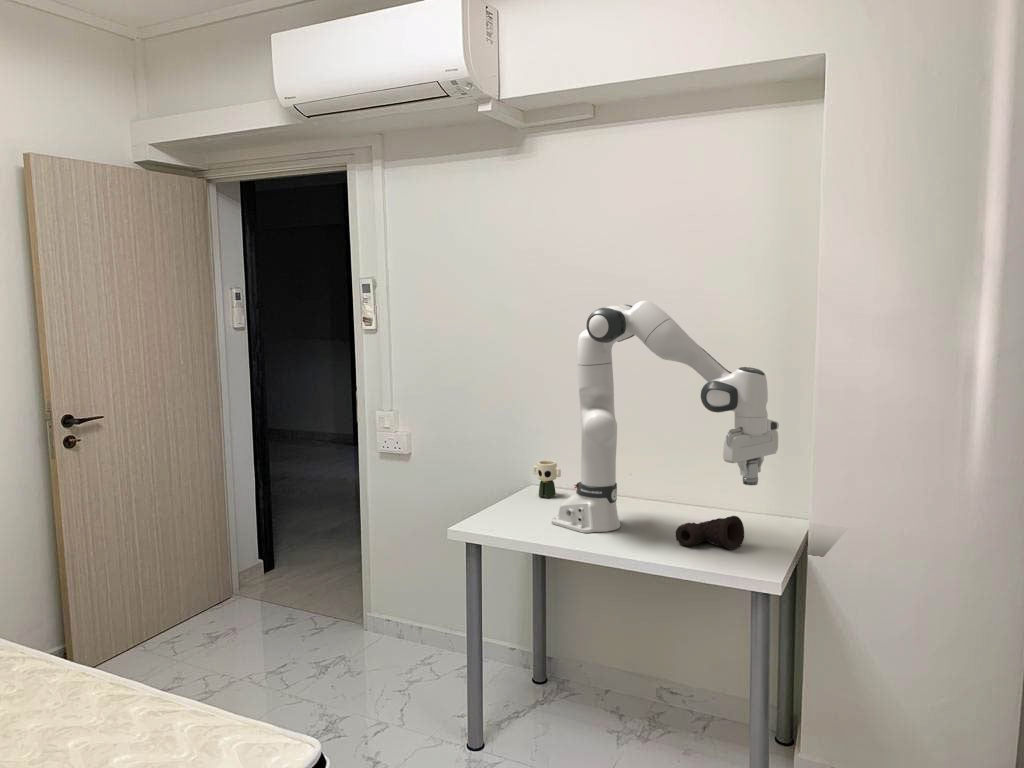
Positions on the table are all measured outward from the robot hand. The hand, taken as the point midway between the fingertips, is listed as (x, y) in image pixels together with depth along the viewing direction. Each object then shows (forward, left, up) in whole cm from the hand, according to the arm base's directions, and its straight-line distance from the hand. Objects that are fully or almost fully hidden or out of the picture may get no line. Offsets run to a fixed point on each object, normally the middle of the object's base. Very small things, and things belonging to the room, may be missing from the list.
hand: (750, 473), depth 218 cm
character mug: (-83, +23, -24) cm, 89 cm away
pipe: (-13, +4, -24) cm, 28 cm away
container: (0, 0, -3) cm, 3 cm away
